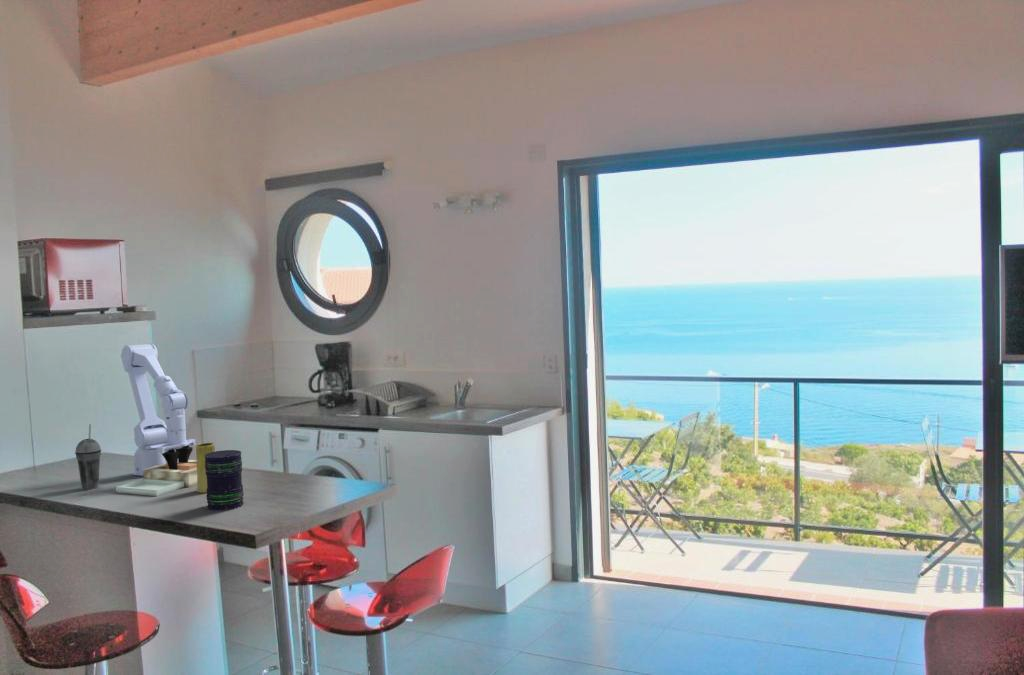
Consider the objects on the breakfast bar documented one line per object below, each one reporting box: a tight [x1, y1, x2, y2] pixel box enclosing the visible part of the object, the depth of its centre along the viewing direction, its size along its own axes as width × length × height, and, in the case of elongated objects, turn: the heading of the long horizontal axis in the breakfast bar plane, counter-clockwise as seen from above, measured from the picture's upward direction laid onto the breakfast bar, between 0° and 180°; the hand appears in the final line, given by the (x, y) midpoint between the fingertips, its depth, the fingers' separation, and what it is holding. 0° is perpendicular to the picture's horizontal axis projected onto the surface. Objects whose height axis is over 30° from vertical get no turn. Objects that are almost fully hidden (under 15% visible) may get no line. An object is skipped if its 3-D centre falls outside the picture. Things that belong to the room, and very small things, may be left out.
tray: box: [115, 478, 185, 497], centre depth 245 cm, size 16×11×2 cm
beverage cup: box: [74, 424, 102, 491], centre depth 249 cm, size 7×7×20 cm
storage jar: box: [205, 449, 245, 512], centre depth 223 cm, size 10×10×15 cm
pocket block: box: [142, 459, 197, 488], centre depth 258 cm, size 18×16×4 cm
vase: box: [195, 442, 216, 494], centre depth 242 cm, size 6×6×14 cm
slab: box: [165, 462, 197, 471], centre depth 258 cm, size 10×4×3 cm, turn 69°
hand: (178, 471), depth 259 cm, fingers closed on slab, 3 cm apart
